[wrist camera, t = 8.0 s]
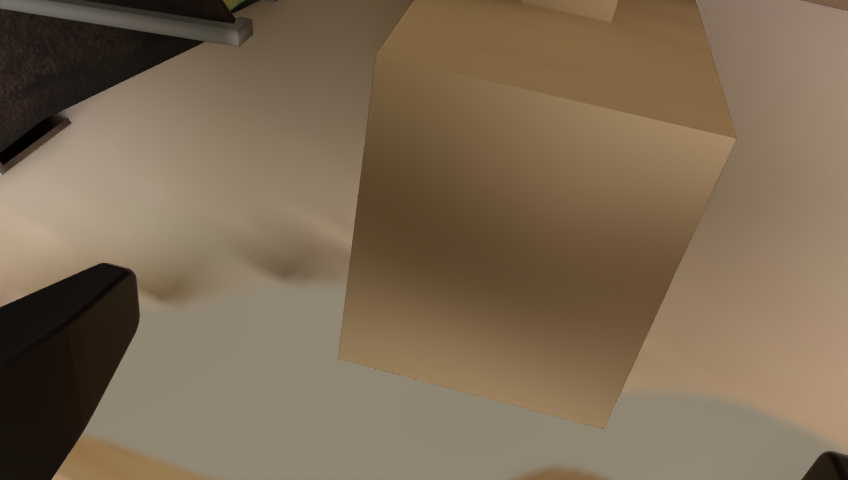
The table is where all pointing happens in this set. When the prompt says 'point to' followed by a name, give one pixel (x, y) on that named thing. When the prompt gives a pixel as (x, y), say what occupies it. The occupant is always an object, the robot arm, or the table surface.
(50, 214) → the table surface
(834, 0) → the board
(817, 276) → the table surface
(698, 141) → the wooden mallet
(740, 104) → the table surface
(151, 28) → the book
